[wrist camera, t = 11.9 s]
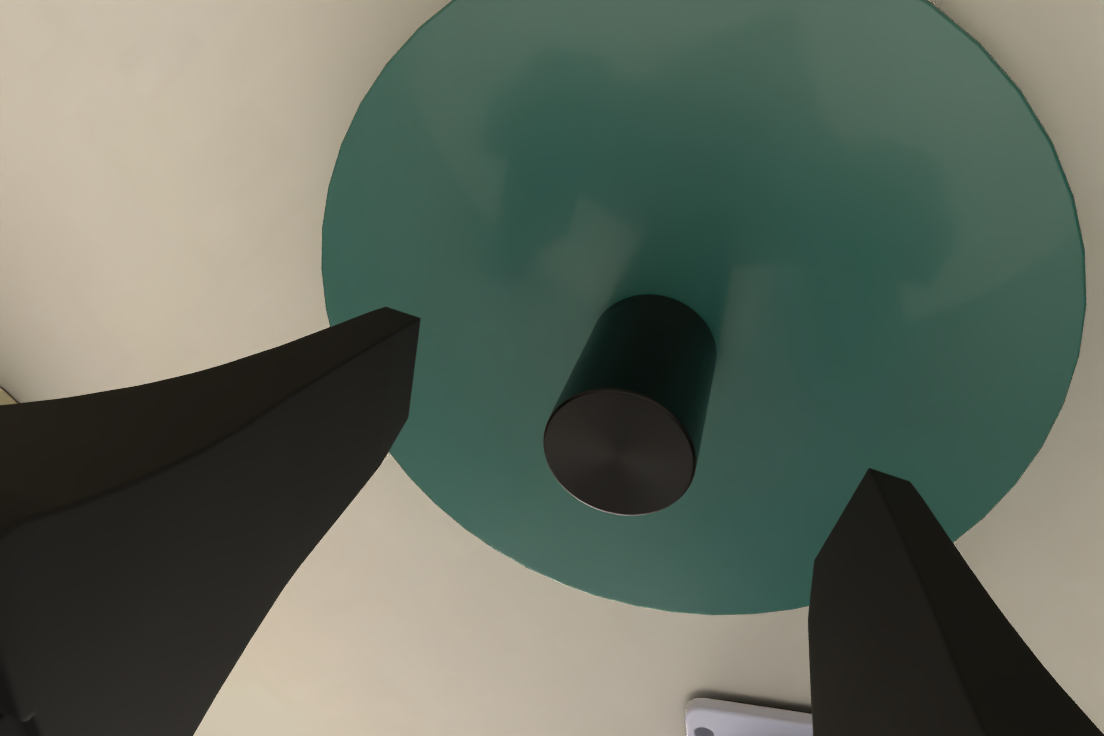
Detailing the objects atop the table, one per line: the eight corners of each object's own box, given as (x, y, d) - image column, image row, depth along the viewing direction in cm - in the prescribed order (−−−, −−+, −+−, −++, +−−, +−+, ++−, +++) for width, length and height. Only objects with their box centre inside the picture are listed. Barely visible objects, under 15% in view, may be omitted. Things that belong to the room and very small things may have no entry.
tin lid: (1000, 612, 17) (1057, 814, 13) (423, 552, 21) (340, 691, 17) (1163, -155, 10) (1382, -196, 6) (262, -13, 14) (69, 12, 10)
